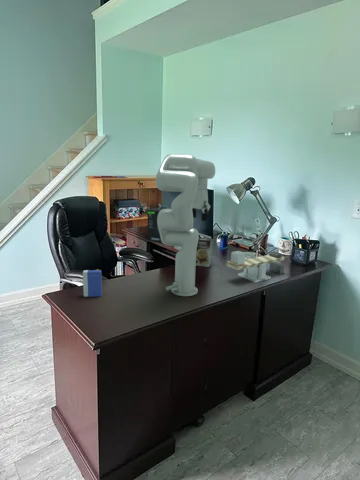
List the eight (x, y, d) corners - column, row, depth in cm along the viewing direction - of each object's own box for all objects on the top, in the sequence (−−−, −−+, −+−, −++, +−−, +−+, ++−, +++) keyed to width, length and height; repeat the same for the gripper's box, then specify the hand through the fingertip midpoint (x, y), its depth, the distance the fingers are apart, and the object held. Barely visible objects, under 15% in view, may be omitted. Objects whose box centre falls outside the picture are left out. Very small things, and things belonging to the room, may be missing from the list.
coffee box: (194, 265, 201) (195, 239, 198) (196, 262, 207) (197, 236, 204) (209, 267, 199) (210, 240, 195) (210, 264, 205) (212, 238, 202)
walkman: (102, 294, 156) (101, 269, 153) (101, 296, 153) (100, 271, 150) (84, 294, 155) (83, 269, 152) (83, 296, 152) (82, 271, 149)
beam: (237, 271, 170) (237, 263, 169) (226, 267, 177) (227, 259, 176) (284, 261, 190) (285, 254, 189) (273, 257, 197) (273, 250, 196)
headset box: (146, 240, 258) (147, 207, 252) (152, 237, 269) (153, 205, 263) (175, 243, 252) (175, 209, 246) (179, 240, 263) (180, 207, 257)
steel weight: (237, 265, 172) (238, 254, 170) (230, 263, 176) (231, 252, 174) (244, 264, 175) (245, 253, 173) (237, 261, 179) (238, 250, 177)
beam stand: (255, 282, 176) (256, 266, 174) (237, 275, 187) (238, 259, 184) (287, 274, 190) (288, 259, 188) (269, 268, 201) (270, 253, 198)
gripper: (185, 185, 183) (184, 217, 187) (204, 188, 170) (203, 222, 174) (196, 185, 188) (194, 216, 192) (216, 188, 174) (214, 221, 178)
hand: (198, 219), depth 183 cm, fingers open, 9 cm apart
